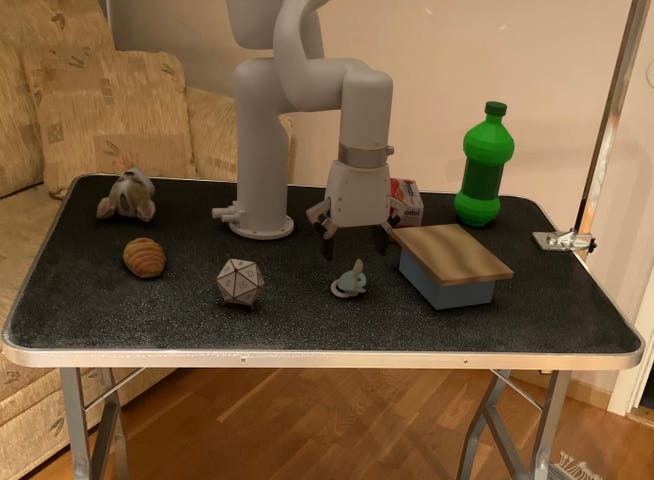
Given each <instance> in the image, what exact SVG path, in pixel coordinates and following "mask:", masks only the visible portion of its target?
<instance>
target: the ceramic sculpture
mask: <svg viewBox="0 0 654 480" xmlns="http://www.w3.org/2000/svg"><path fill="white" fill-rule="evenodd" d="M155 193H156V187H155V185H154V184H153V182H152V181H151V178H150V177H149V176H148V175H147V173H146V172H145V171H143V170H142V169H141V168H140V166H139V165H138V164H135V165H134V166H133V167H132V168H129V169H128V170H126V171H124V172H123V173H121V174H120V175H119V177H118V179H117V180H116V181H115V182H114V183H113V185H112V187H111V190H110V191H109V194H108V196H106V197H103V198H101V199H100V202H99V203H98V204H97V209H96V215H95V217H96V219H102V220H104V219H105V220H106V219H112V218H113V217H114V216H115V215H116V214H118V215H119V216H121V217H125V218H138V219H139V220H141V221H143V222H146V223H149V222H151V221H152V220H154V218H155V215H156V212H157V208H156V203H155V201H154V200H153V198H154V197H155Z"/></svg>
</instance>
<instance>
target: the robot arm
mask: <svg viewBox="0 0 654 480" xmlns="http://www.w3.org/2000/svg"><path fill="white" fill-rule="evenodd" d="M330 1H331V0H225V3H226V10H227V14H228V19H229V20H228V21H229V25H230V30H231V34H232V37H233V39H234V41H235V43H236V44H237V45H238V46H239V47H240V48H242V49H245V50H253V51H260V50H261V51H263V50H264V51H267V50H272V56H267V57H265V56H264V57H254V58H250V59H247V60H244V61H242V62H240V63H239V64H238V65H237V66H236V67H235V69H234V70H233V72H232V76H231V89H232V95H233V100H234V107H235V116H236V128H237V129H236V135H237V137H236V139H237V142H236V147H237V149H236V151H237V154H236V155H237V157H236V159H237V161H236V164H237V166H236V168H237V169H236V170H237V171H236V200H233V201H232V205H228V206H227V207H223V208H222V207H221V208H220V207H216V208H215V207H214V208H212V209H211V216H212V219H221V221H222V223H228V227H229V229H230V230H231V231H232V232H233V233H235V234H236V235H238V236H241V237H244V238H248V239H252V240H259V241H268V240H276V239H281V238H282V239H283V238H285V237H286V236H287V237H288V236H289V235H290V234H292V232H293V231H294V228H295V225H294V220H293V219H292V217H291V216H288V214H287V208H288V188H289V187H288V184H289V163H290V137H289V134H288V131H287V130H286V128H285V126H284V125H283V124H282V122H281V119H280V115H285V114H291V113H301V112H302V113H317V112H318V113H319V112H328V111H329V112H330V111H340V117H339V118H340V120H339V132H338V133H339V136H338V147H337V148H338V149H337V151H338V152H337V159H333V160H332V161H331V164H330V168H329V171H328V176H327V180H326V185H325V192H324V200H323V201H321V202H318V203H317V204H315V205H314V206H313V205H312V206H311V207H310V208H308V209H307V210H305V215H306V217H307V219H308V221H309V223H310V225H311V227H313V229H314V230H315V231H316V232H317V233H318V234H319V235H320V239H319V253H320V255H321V256H322V257H323V258H324V259H325V260H326V261H327V262H328V263H329V262H332V261H333V258H334V243H335V241H334V238H333V237H332V236H333V235H334V234H335V233H336V232H337V231H338V229H339V228H340V229H341V228H354V227H355V228H356V227H365V226H376V230H375V237H374V238H375V239H374V250H375V252H377V253H378V254H379V255H380V256H381V257H385V256H386V255H387V250H388V248H389V242H390V241H389V234H391V233H392V232H393V228H394V227H395V226H396V225H397V224H398V223H399V222H400V221H401V217H402V216H403V214H404V213H405V211H406V209H407V206H406V205H404V204H403V203H402V202H400V201H398V200H396V199H394V198H392V197H390V196H391V185H390V178H391V172H390V165H389V163H388V157H389V156H394V154H395V147H394V146H393V145H389V134H390V125H391V124H390V123H391V116H392V115H391V114H392V107H393V106H392V105H393V104H392V103H393V94H394V81H393V78H392V77H391V76H390V75H389V74H388V73H386V72H384V71H382V70H378V69H373V68H372V67H370V66H369V65H368V64H367V63H366V62H364V61H363V60H361V59H360V58H355V57H337V58H335V57H334V58H333V57H332V58H326V57H325V50H324V42H323V35H322V28H321V22H320V17H319V13H318V9H320V8H322V7H323V6H325V5H326V4H327V3H329V2H330ZM390 206H391V207H393V208H395V210H394V213H392V214H391V215H390V216H389V211H390ZM322 214H323V216H324V217H325V219H324V221H323V222H321V223H320V220H319V217H320V216H321V215H322ZM378 224H379V225H380V227H377V225H378Z"/></svg>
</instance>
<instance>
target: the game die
mask: <svg viewBox="0 0 654 480" xmlns="http://www.w3.org/2000/svg"><path fill="white" fill-rule="evenodd" d="M226 258H227V261H226V262H225V264H224V265H223V267H222V268H221V270H220V271H219V273H218V274H217V276H216V278H213V277H212V278H210V279H209V281H211V282H215V283H216V286H217V288H218V290H219V293H220V295H221V297H222V298H223V301H222V302H221V306H225V304H226V303H229V304H230V303H231V304H236V305H242V306H249V307H250V310H252V311H255V307H254V303H255V302H256V300H257V299H258V297H259V295H260V293H261V292H262V291H263V289H264V287H265V286H266V287H268V286H270V285H271V283H269V282H265V279H264V277H263V274H262V272H261V270H260V267H259V265H258V264H259V262H260V261H261V259H260V258H256V259H255V261H252V260H251V261H250V260H244V259H240V258H239V259H238V258H232V257H231V254H229V253H228V252H227V253H226Z"/></svg>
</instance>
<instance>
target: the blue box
mask: <svg viewBox="0 0 654 480" xmlns="http://www.w3.org/2000/svg"><path fill="white" fill-rule="evenodd" d="M398 271H400V273H402V275H403V276H404V277H405V278H406V279H407V280H408V281H409V282H410V283H411V284H412V286H414V288H415V289H416V290H417V291H418V292H419V293H420V294H421V295H422V296H423V298H424V299H425V300H427V301H428V303H429V304H430V305H431V306H432V307H433V308H434V309H435V310H445V309H452V308H453V309H454V308H461V307H467V306H475V305H483V304H489V303H490V304H491V303H492V298H493V294H494V289H495V285H496V280H493V281H485V282H476V283H468V284H460V285H451V286H443V287H441V286H440V285H439V284H438V283H437V282H436V281H435V280H434V279H433V278H432V277H431V276H430V275H429V274H428V273H427V272H426V271H425V270H424V269H423V268H422V267H421V266H420V265H419V264H418V263H417V262H416V261H415V260H414V259H413V258H412V257H411V256H410V255H409V254H408V253H407V252H406V251H405V250H404V249H403V248H402V247H401V253H400V260H399V267H398Z"/></svg>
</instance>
